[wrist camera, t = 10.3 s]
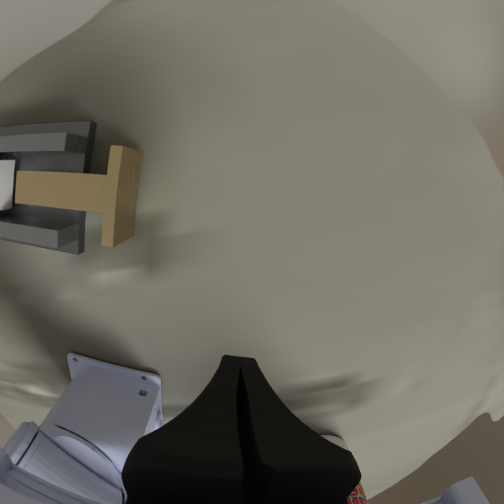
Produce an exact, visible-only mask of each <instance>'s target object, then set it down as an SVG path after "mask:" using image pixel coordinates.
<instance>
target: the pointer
mask: <svg viewBox="0 0 504 504" xmlns="http://www.w3.org/2000/svg"><path fill="white" fill-rule="evenodd" d="M14 167H15V160H0V211H1V210H6V209H10V208H12V194H13V179H14Z"/></svg>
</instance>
